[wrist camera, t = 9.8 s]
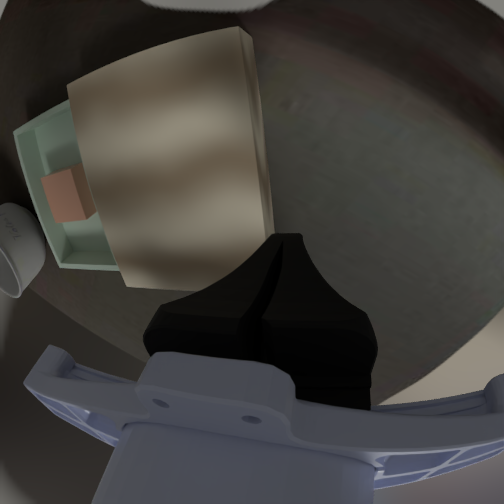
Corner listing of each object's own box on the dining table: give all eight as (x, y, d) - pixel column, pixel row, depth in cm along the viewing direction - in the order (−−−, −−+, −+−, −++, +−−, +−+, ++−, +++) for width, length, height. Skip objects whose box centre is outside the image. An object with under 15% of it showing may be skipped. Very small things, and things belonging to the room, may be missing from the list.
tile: (55, 223, 24) (67, 214, 25) (86, 219, 23) (98, 210, 24) (40, 178, 21) (53, 170, 23) (70, 168, 20) (84, 161, 22)
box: (139, 253, 27) (124, 270, 24) (74, 253, 29) (59, 267, 27) (96, 92, 18) (73, 97, 16) (33, 124, 21) (13, 131, 18)
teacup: (49, 202, 26) (0, 238, 19) (63, 274, 32) (28, 313, 25) (-6, 184, 26) (-46, 210, 20) (8, 246, 32) (-24, 275, 26)
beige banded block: (277, 262, 24) (271, 293, 21) (146, 261, 27) (126, 286, 24) (252, 37, 15) (238, 26, 12) (99, 80, 18) (66, 85, 14)
